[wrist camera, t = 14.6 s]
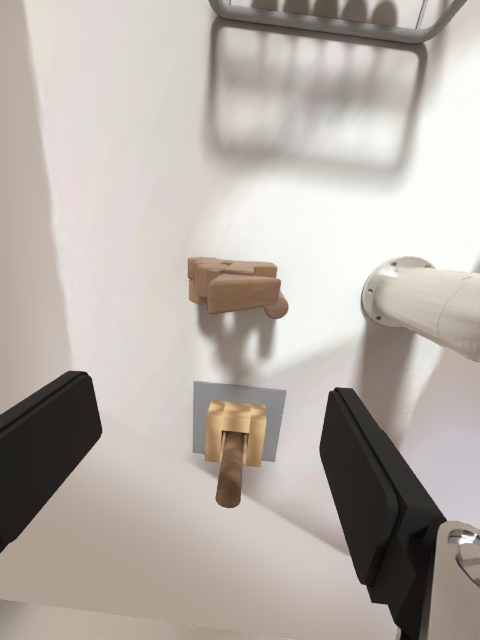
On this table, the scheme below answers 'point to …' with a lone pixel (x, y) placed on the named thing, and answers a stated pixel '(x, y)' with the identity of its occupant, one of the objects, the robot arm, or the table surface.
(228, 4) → the newton's cradle
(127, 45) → the table surface
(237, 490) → the walnut dowel
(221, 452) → the square-hole wood block
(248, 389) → the slate mat
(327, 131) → the table surface
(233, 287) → the wooden toy
